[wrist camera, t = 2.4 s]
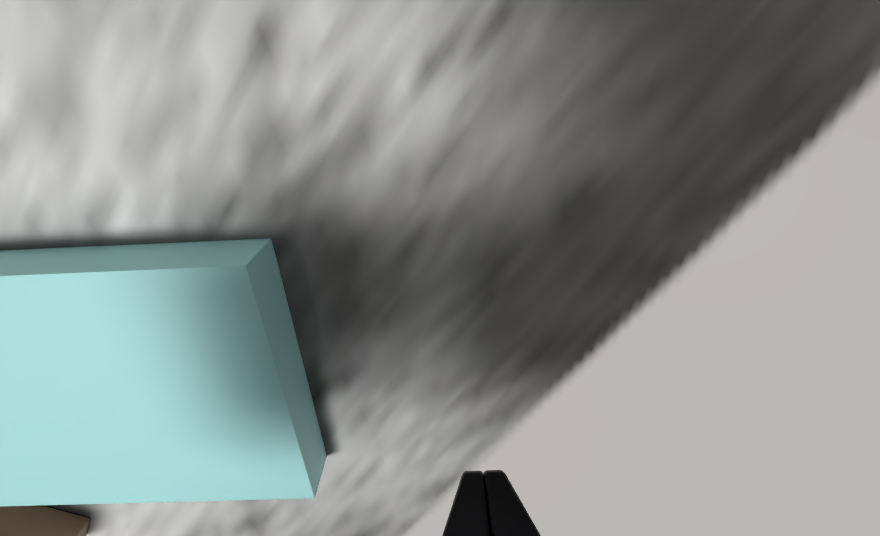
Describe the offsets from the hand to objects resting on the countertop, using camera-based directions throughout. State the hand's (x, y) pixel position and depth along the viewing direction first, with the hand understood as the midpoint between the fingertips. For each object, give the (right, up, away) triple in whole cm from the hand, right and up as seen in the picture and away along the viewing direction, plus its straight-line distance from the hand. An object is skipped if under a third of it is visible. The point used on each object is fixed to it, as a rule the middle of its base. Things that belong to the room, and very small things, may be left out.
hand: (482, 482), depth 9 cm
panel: (-11, +2, +4) cm, 12 cm away
